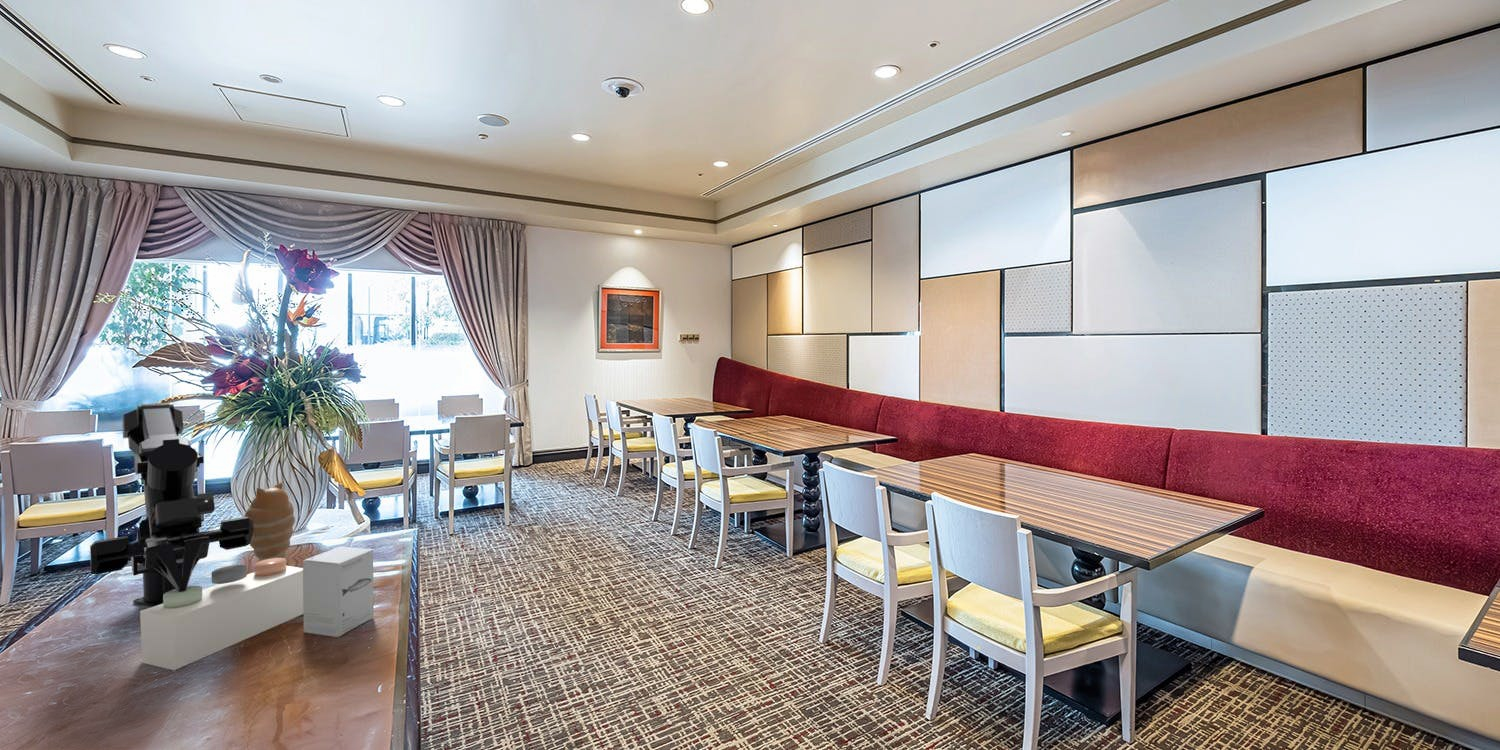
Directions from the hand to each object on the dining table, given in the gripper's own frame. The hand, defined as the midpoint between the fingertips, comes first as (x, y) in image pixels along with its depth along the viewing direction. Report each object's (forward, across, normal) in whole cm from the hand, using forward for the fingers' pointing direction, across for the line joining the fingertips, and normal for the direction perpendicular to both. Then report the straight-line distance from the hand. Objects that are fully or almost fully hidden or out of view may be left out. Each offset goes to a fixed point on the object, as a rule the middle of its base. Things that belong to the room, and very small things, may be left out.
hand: (182, 590), depth 92 cm
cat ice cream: (-16, +17, +30) cm, 38 cm away
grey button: (-2, +6, +2) cm, 7 cm away
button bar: (+6, +6, +8) cm, 12 cm away
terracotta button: (-3, +12, +5) cm, 13 cm away
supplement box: (+12, +19, +2) cm, 23 cm away
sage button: (+1, 0, +1) cm, 2 cm away
